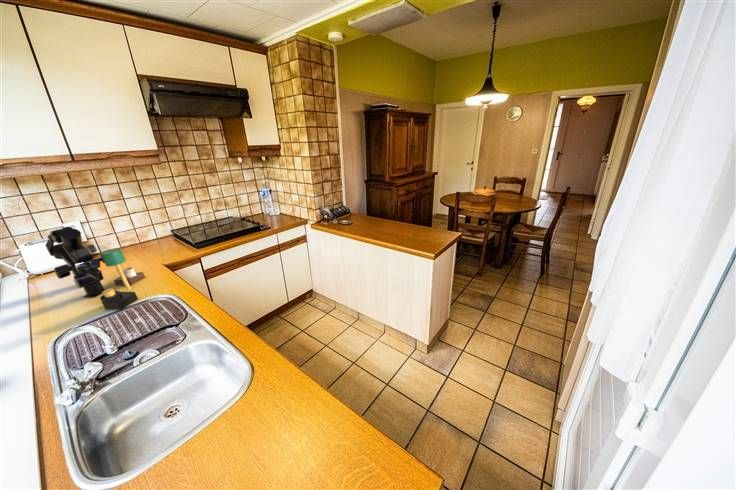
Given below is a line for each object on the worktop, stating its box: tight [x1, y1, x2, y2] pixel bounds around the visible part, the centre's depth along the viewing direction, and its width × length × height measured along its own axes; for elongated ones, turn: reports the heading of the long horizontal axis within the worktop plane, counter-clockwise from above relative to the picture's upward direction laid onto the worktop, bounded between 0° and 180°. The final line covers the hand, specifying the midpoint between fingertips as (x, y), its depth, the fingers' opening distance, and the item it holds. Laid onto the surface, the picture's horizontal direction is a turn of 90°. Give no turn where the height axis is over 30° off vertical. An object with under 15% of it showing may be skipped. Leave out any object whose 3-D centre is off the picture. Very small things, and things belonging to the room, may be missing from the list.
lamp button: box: [102, 288, 116, 298], centre depth 114 cm, size 4×4×2 cm
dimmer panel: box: [113, 271, 146, 286], centre depth 138 cm, size 10×9×3 cm
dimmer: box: [122, 266, 137, 278], centre depth 136 cm, size 4×4×4 cm
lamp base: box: [99, 290, 139, 311], centre depth 117 cm, size 9×9×6 cm
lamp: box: [100, 247, 132, 291], centre depth 115 cm, size 6×6×19 cm
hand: (98, 278), depth 115 cm, fingers closed
